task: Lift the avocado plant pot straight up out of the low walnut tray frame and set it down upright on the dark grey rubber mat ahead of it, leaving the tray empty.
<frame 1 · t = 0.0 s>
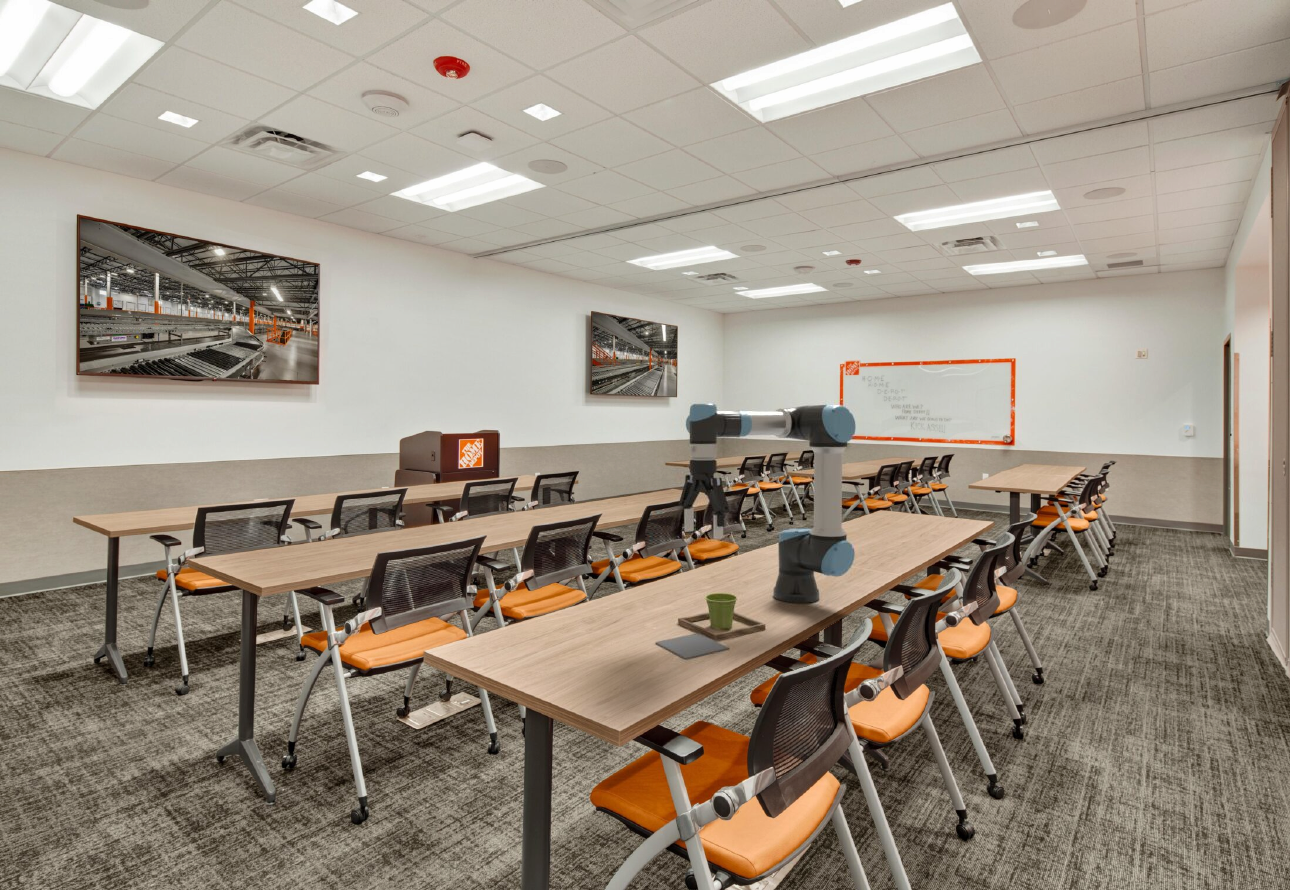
hand: (703, 534, 182), 28 cm above the table, fingers open, 13 cm apart
plant pot: (721, 627, 190), resting in tray frame
tray frame: (721, 626, 190), on the table
mat: (691, 646, 173), on the table
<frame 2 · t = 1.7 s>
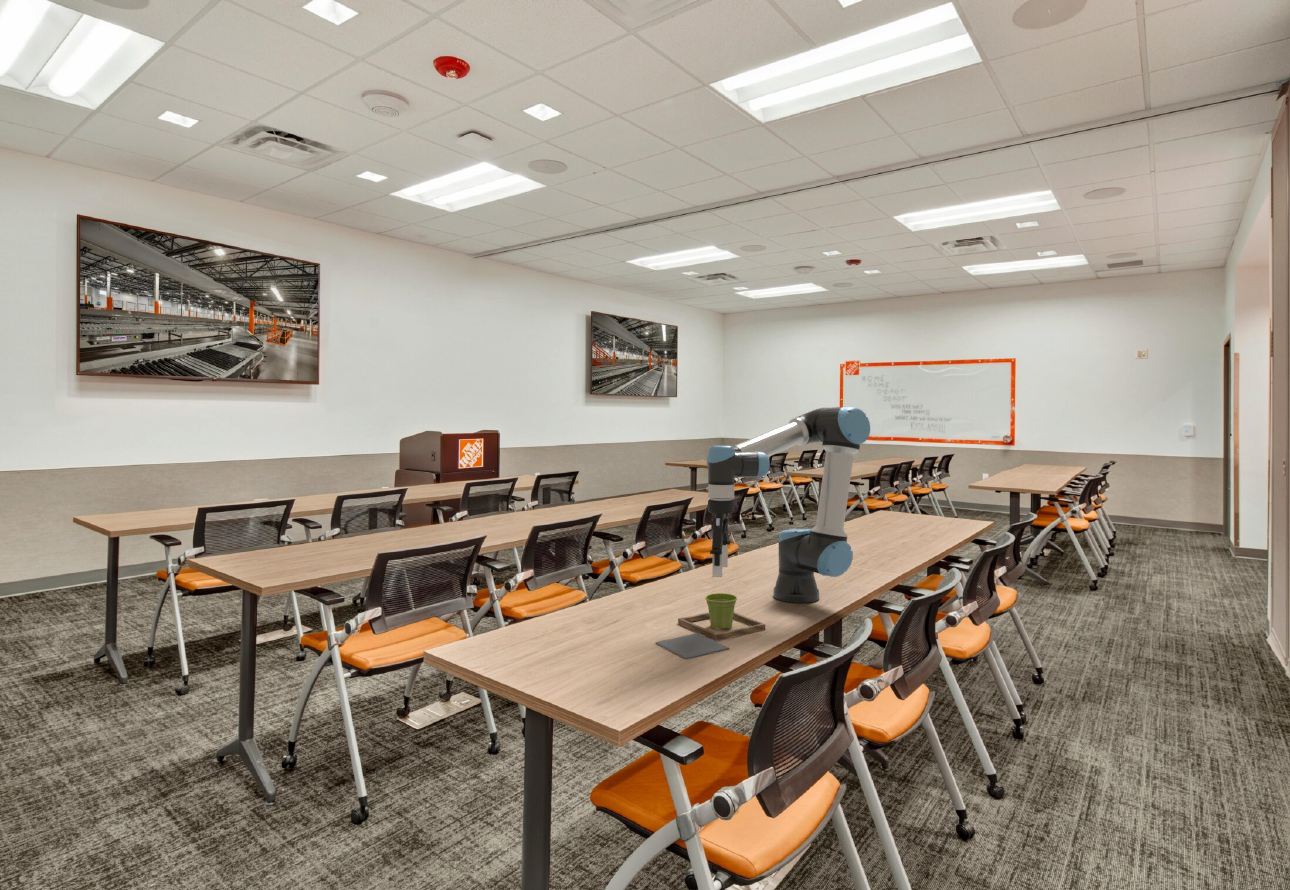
hand: (720, 571, 189), 16 cm above the table, fingers open, 13 cm apart
nothing on the table moved.
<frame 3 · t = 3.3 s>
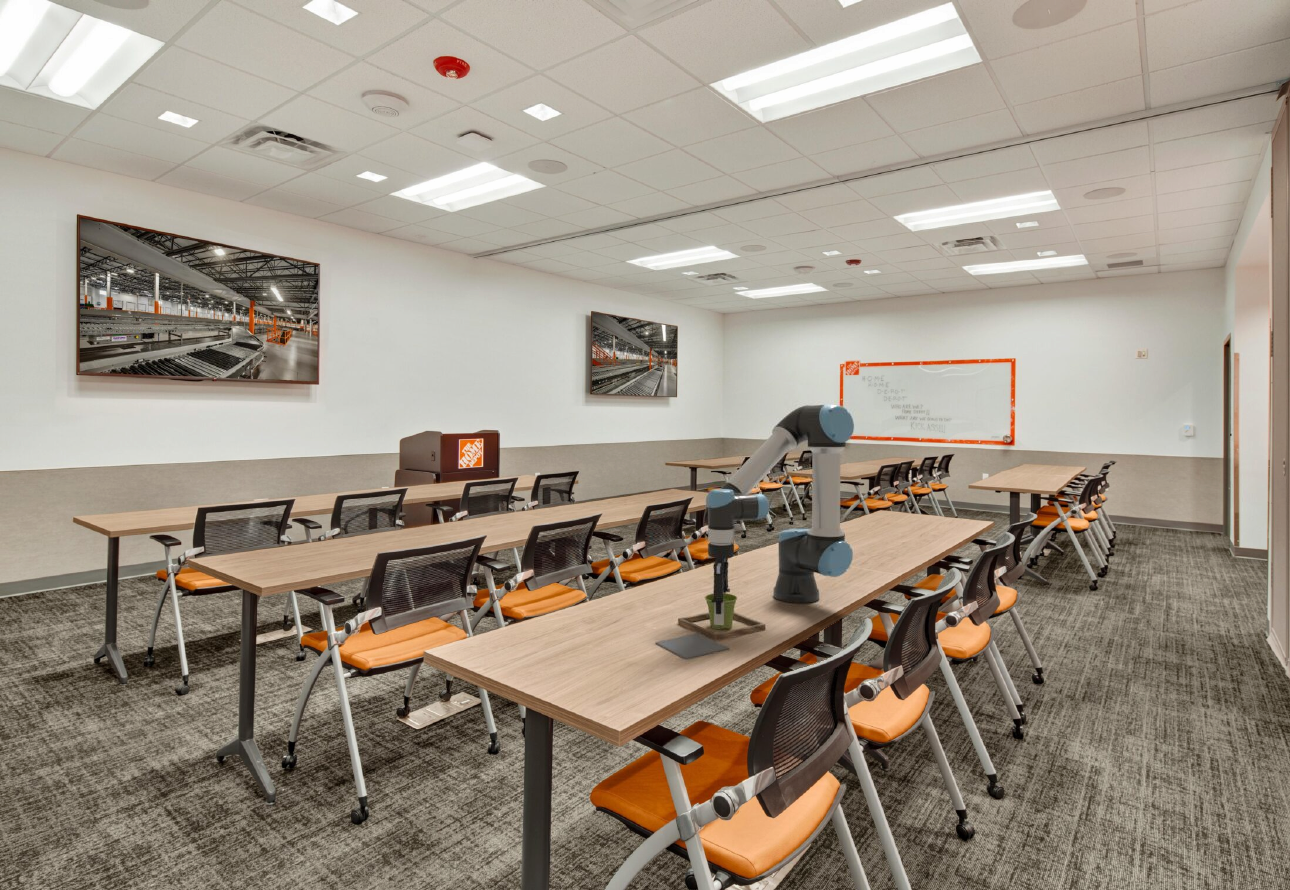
hand: (720, 619, 190), 2 cm above the table, fingers closed on plant pot, 9 cm apart
plant pot: (721, 627, 190), resting in tray frame, touching gripper
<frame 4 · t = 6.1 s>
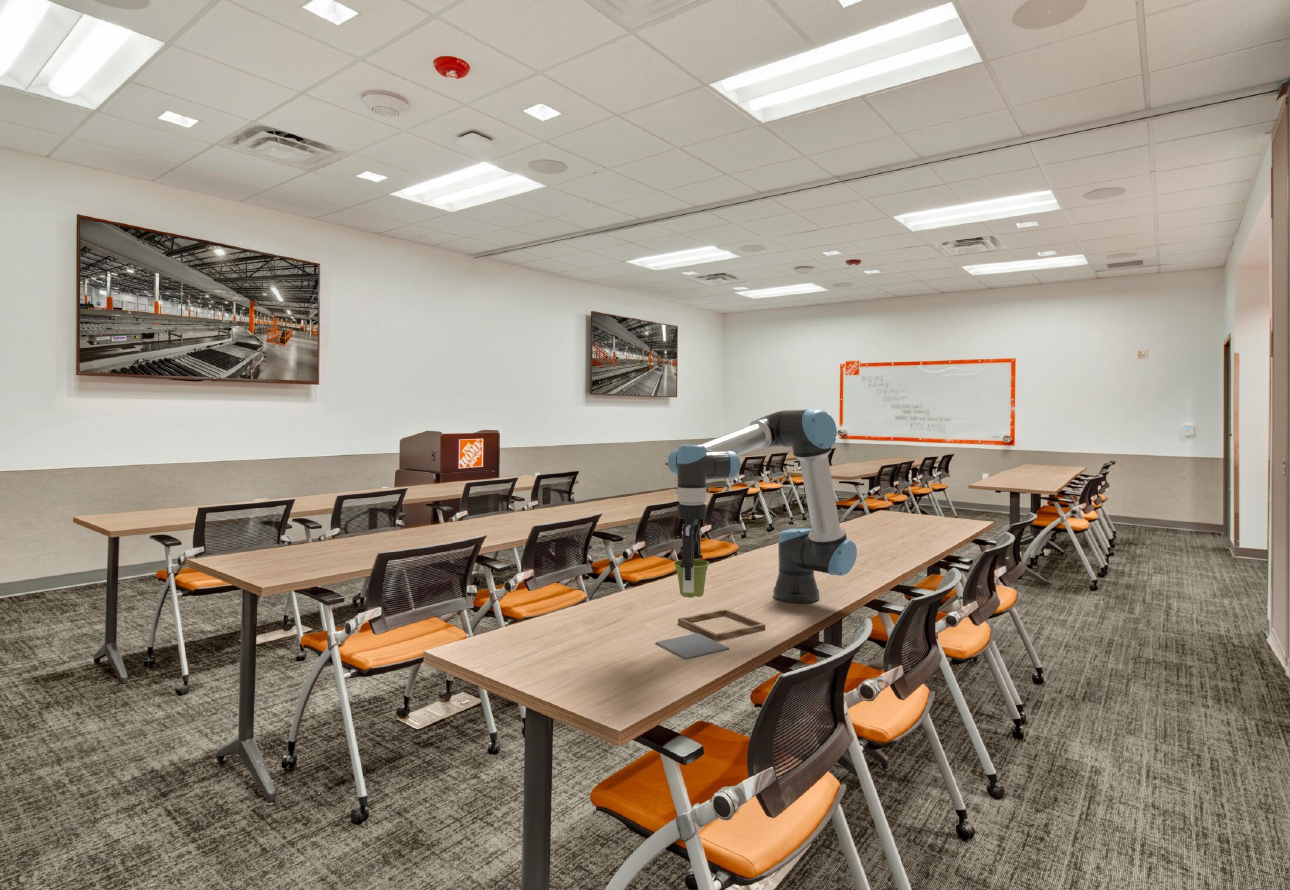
hand: (691, 587, 173), 16 cm above the table, fingers closed on plant pot, 9 cm apart
plant pot: (691, 595, 173), point 13 cm above the table, touching gripper
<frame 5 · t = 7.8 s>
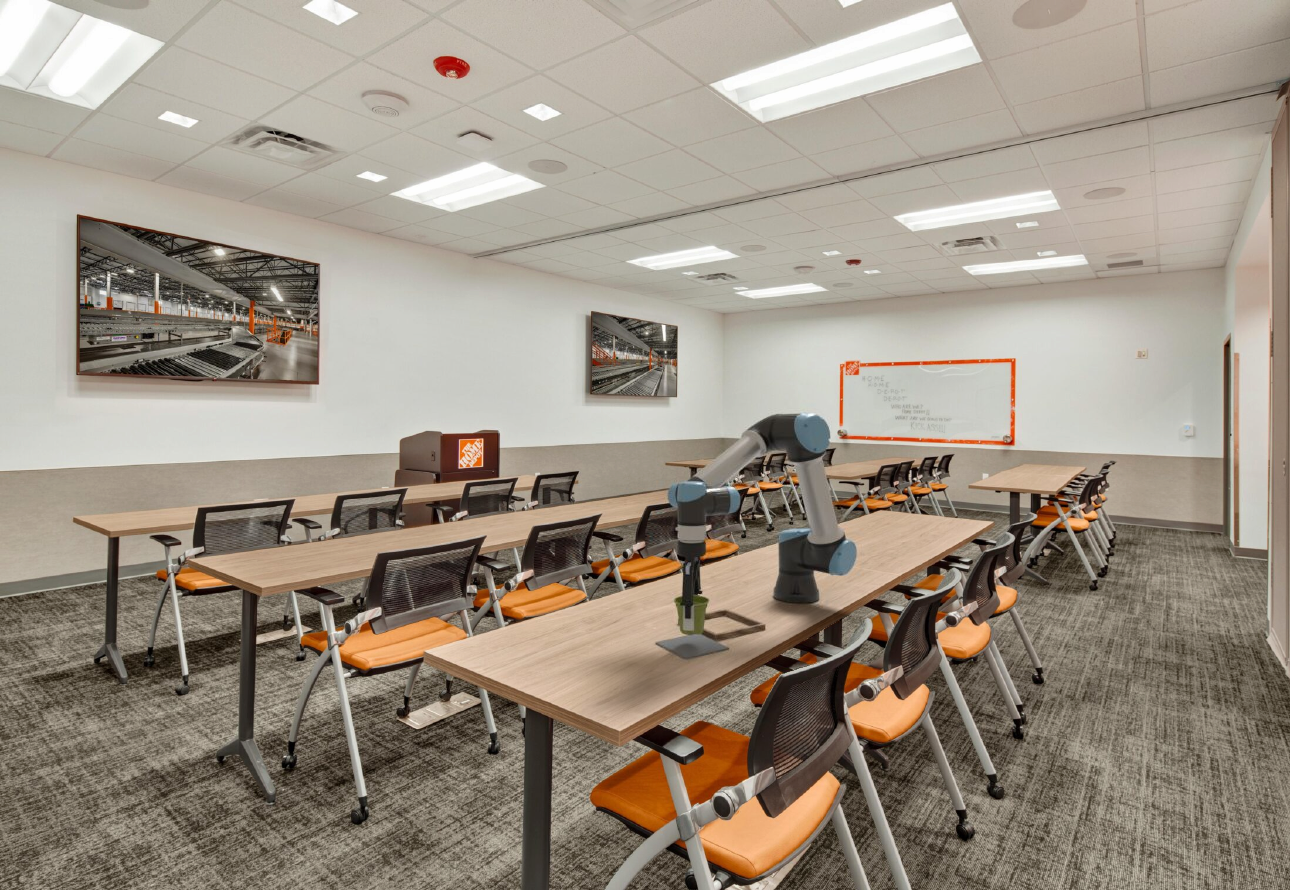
hand: (691, 624, 173), 6 cm above the table, fingers closed on plant pot, 9 cm apart
plant pot: (691, 632, 173), point 4 cm above the table, touching gripper
when the fingers open (3 cm above the table, at t = 8.9 s): plant pot stays where it is, resting on mat.
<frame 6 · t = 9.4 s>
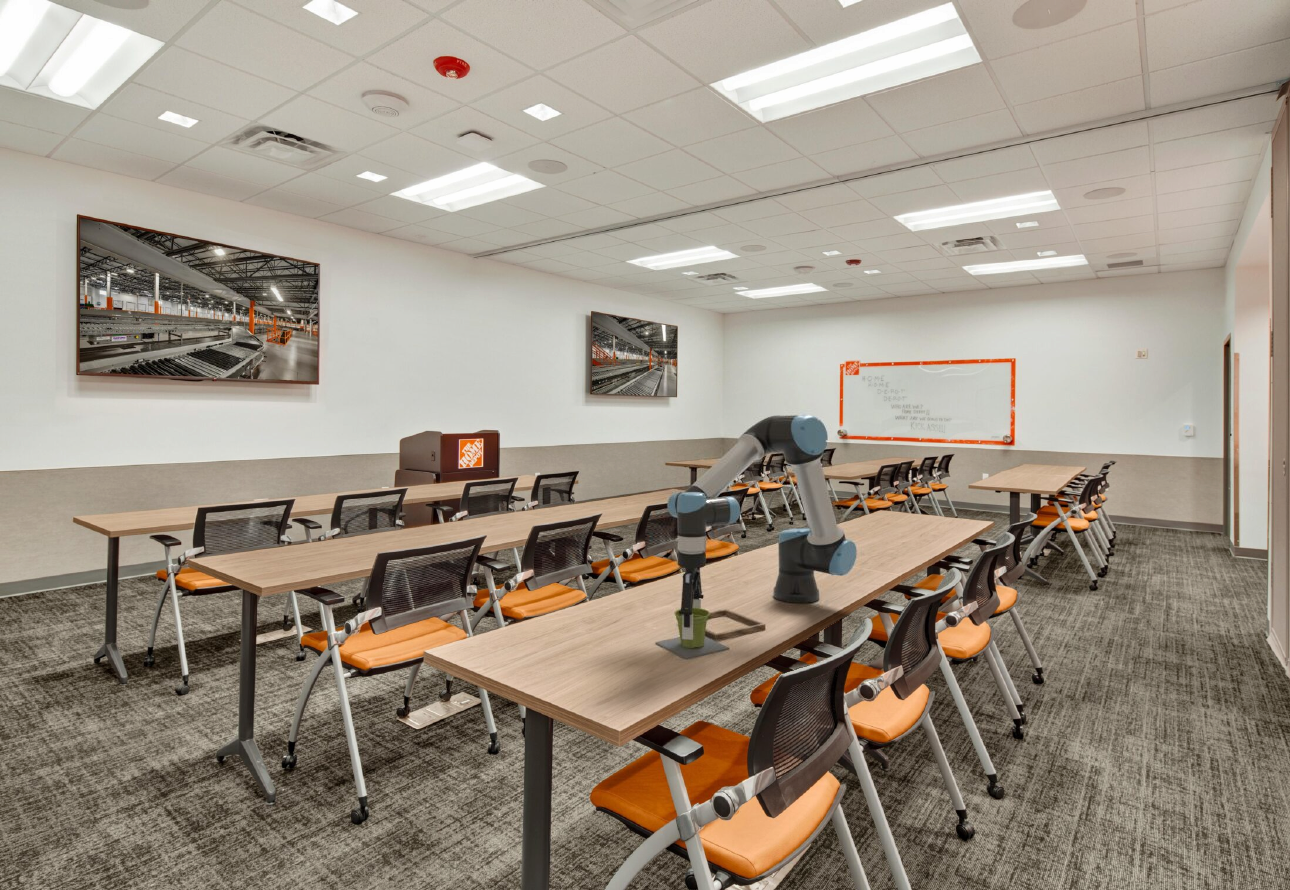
hand: (691, 630, 173), 4 cm above the table, fingers open, 13 cm apart
plant pot: (692, 645, 173), resting on mat
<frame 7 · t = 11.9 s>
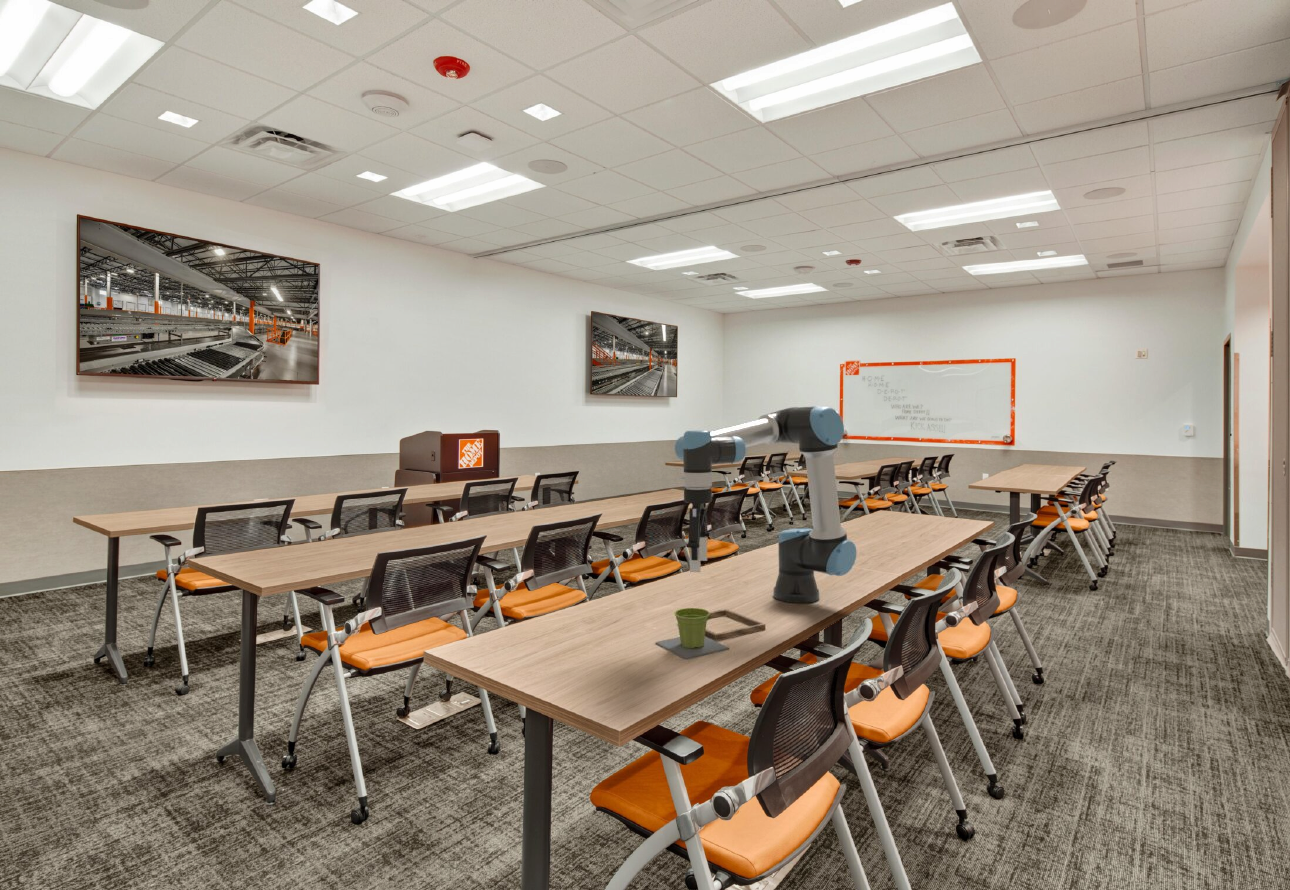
hand: (698, 566, 176), 21 cm above the table, fingers open, 13 cm apart
nothing on the table moved.
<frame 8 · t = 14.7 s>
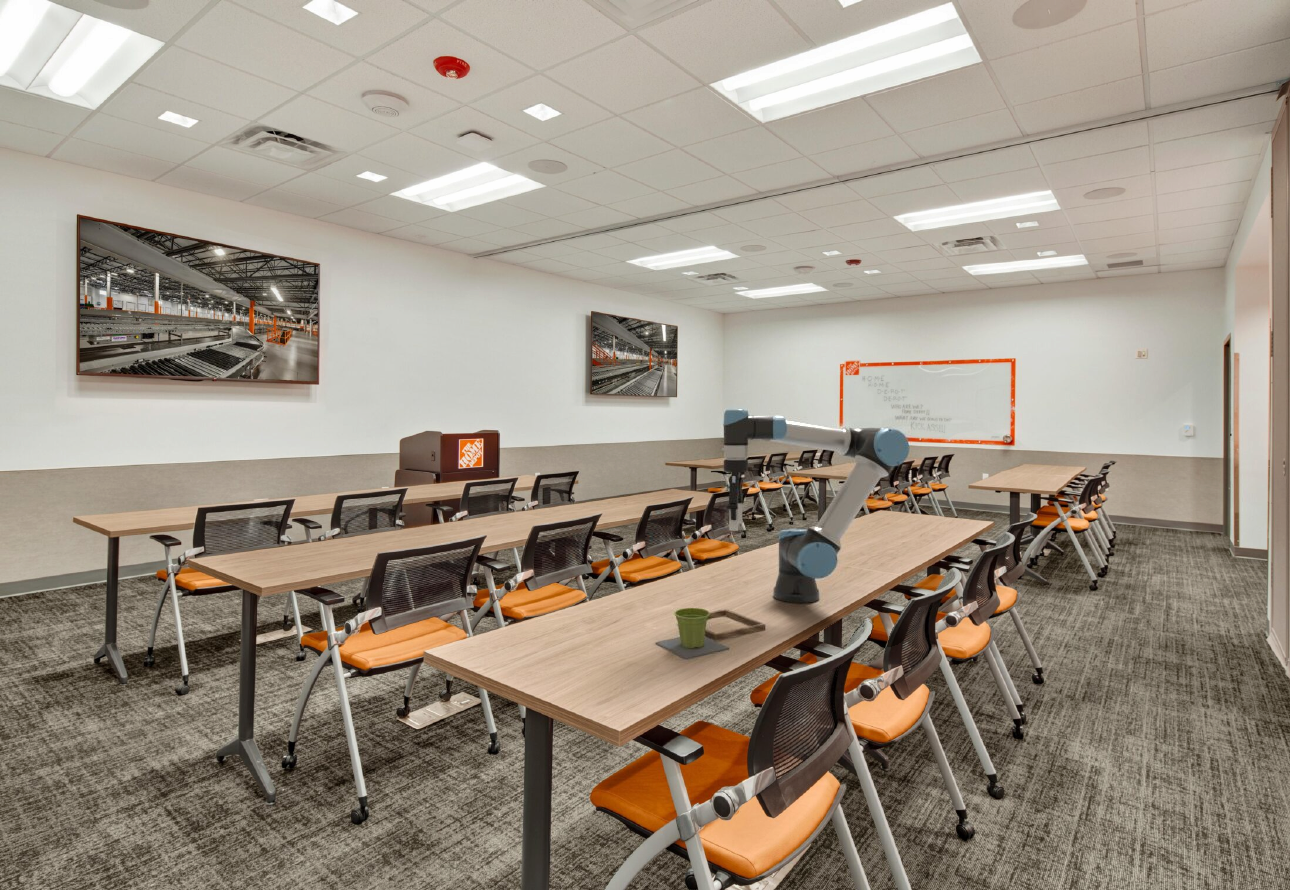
hand: (735, 527, 203), 27 cm above the table, fingers open, 13 cm apart
nothing on the table moved.
at the end: plant pot 0.0 cm from the mat (horizontally); plant pot tilted 0°; plant pot resting on mat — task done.
